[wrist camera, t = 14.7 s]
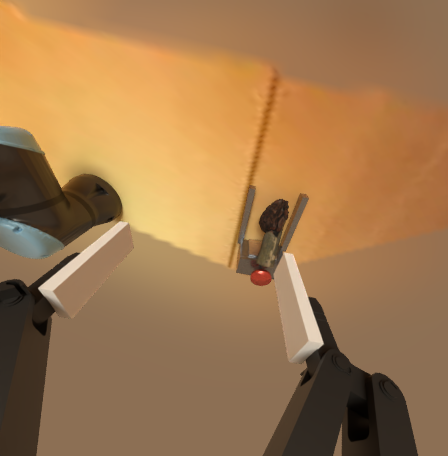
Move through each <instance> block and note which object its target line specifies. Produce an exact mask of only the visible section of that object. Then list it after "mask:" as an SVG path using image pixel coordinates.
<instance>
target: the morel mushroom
mask: <svg viewBox="0 0 448 456" xmlns="http://www.w3.org/2000/svg"><path fill="white" fill-rule="evenodd" d="M288 208H289V206H288V201H285V200H283V199H279V200H276V201H275V202H273V203H272V204H271V205H269V206H268V207H267V208H266V210H265V211H264V212H263V214H262V215H261V217H260V221H259V224H260V227H261V229H262V231H264V232H265V235H264V237H263V241H262V244H261V248H260V251H259V254H258V257H257V260H256V263H257V264H259V265H261V266H264V267H269V268H273V267H274V263H275V259H276V255H277V251H278V246H279V242H280V238H281V234H282V230H283V227H284V224H285V221H286V220H287V219H288V213H289V212H288Z"/></svg>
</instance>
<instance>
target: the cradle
mask: <svg viewBox="0 0 448 456" xmlns="http://www.w3.org/2000/svg"><path fill="white" fill-rule="evenodd" d="M254 194H255V186H252V185H249V190H248V195H247V199H246V204H245V208H244V213H243V218H242V222H241V227H240V232H239V236H238V243H239V244H240V246H239V250H238V257H237V270H236V272H237V273H241V274H247V275H251V281H252V282H253V283H254V284H255V285H259V286H263V285H267V284H269V283H270V282H271V279H274V275H273V274H274V272H275V270H276V268H277V266H278V264H279V262H280V260H281V258H282V256H283V252H282V251H286V249H287V247H288V244H289V242H290V240H291V238H292V235H293V233H294V231H295V229H296V226H297V224H298V222H299V220H300V217H301V215H302V213H303V210H304V208H305V206H306V204H307V201H308V199H309V198H308V196H307V195H306V194H301V193H300V196H299V198H298V201H297V203H296V206H295V208H294V210H293V213H292V215H291V218H290V220H289V223H288V225H287V228H286V230H285V233H284V235H283V238H282V240H281V243H280V245H279V246H278V251H277V255H276V259H275V263H274V267H273V268H269V267H264V266H261V265H259V264H257V263H256V260H257V257H258V254H259V251H260V248H261V244H262V242H261V241H256V240H250V239H249V240H244V235H245V231H246V227H247V223H248V218H249V214H250V210H251V206H252V202H253V198H254Z"/></svg>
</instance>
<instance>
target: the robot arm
mask: <svg viewBox="0 0 448 456" xmlns="http://www.w3.org/2000/svg"><path fill="white" fill-rule="evenodd" d="M120 213H121V201H120V198H119V196H118V195H117V193H116V191H115V190H114V189H113V188H112V187H111V186H110V185H109V184H108V183H107V182H105V181H104V180H102V179H101V178H99V177H97V176H94V175H89V174H83V175H79V176H77V177H74V178H72V179H71V180H70V181H69V182H68V183H67V184H66V185H64V186H63V187H62V188H61V187H60V185H59V183H58V181H57V179H56V177H55V175H54V173H53V171H52V169H51V167H50V165H49V163H48V161H47V159H46V157H45V153H44V152H43V151H42V150H41V148H40V147H39V145H38V143H37V141H36V140H35V138H34V136H33V135H32V134H31V133H30V132H28V131H27V130H25V129H22V128H18V127H9V126H0V246H1V247H2V248H4V249H6V250H8V251H10V252H12V253H15V254H17V255H20V256H23V257H27V258H32V259H42V258H47V257H49V256H51V255H53V254H54V253H56V252H57V251H59V250H62V249H63V248H64V247H65V246H66V245H68V244H69V243H71V242H72V241H74V240H75V239H76V238H78V237H79V236H80V235H82V234H83V233H85V232H86V231H88V230H89V229H90V228H92V227H93V226H96V225H100V224H104V223H107V222H110V221H112V220H114V219H115V218H116V217H118V216H119V214H120ZM133 248H134V247H133V241H132V236H131V231H130V226H129V223H127V222H122V221H119V222H118V223H117V224H116V225H115V226H113V227H112V228H111V229H110V230H109V231H107V232H106V233H105V234H104V235H102V236H101V237H100V238H99V239H97V240H96V241H95V242H94V243H93V244H92V245H90V246H89V247H88V248H86V249H85V250H84V251H83V252H82V253H74V254H72V255H70V256H68V257H66V258H65V259H64V260H63V261H61V262H60V263H59V264H57V265H56V266H55V267H54V268H53V269H51V270H50V271H48V272H47V273H46V274H44V275H43V276H42V277H41V278H39V279H38V280H37V281H36V282H34V283H33V284H32V285H30V286H29V287H27V286H26V285H25V284H24V282H23V281H21V280H17V279H13V280H7V281H4V282H1V283H0V456H36V453H37V445H38V436H39V427H40V418H41V410H42V401H43V392H44V384H45V375H46V367H47V358H48V349H49V340H50V332H51V323H52V318H51V315H52V314H53V313H54V312H56V313H57V314H58V316H59V317H64V318H68V319H72V318H73V317H74V316H75V315H76V314H77V313H78V311H79V310H80V309H81V308H82V307H83V306H84V305H85V303H86V302H87V301H88V300H89V299H90V297H91V296H92V295H93V294H94V293H95V292H96V291H97V290H98V288H99V287H100V286H101V285H102V284H103V283H104V281H105V280H106V279H107V278H108V277H109V276H110V274H111V273H112V272H113V271H114V270H115V269H116V268H117V266H118V265H119V264H120V263H121V262H122V261H123V259H124V258H125V257H126V256H127V255H128V253H129V252H130V251H131V250H132V249H133ZM273 275H274V281H275V286H276V292H277V298H278V304H279V309H280V315H281V321H282V327H283V332H284V338H285V344H286V350H287V355H288V361H289V362H293V363H299V364H302V363H303V362H304V361H305V360H306V363H307V368H306V369H305V370H304V371H303V372H302V373H301V376H302V378H301V380H300V382H299V384H298V386H297V388H296V390H295V392H294V394H293V396H292V398H291V400H290V402H289V404H288V406H287V408H286V410H285V412H284V414H283V416H282V418H281V420H280V422H279V424H278V426H277V428H276V430H275V432H274V434H273V436H272V438H271V440H270V442H269V444H268V446H267V448H266V450H265V453H264V454H263V456H333V454H334V450H335V446H336V443H337V439H338V435H339V431H340V428H341V424H342V456H418V454H417V449H416V444H415V440H414V435H413V431H412V427H411V422H410V418H409V413H408V409H407V405H406V401H405V398H404V396H403V394H402V392H401V391H400V389H399V387H398V386H397V385H396V384H395V383H394V382H393V381H392V380H391V379H389V378H388V377H387V376H386V375H383V374H381V373H375V374H372V375H370V374H368V373H366V372H364V371H363V370H361V369H359V368H357V367H355V366H354V365H352V364H351V363H350V361H349V359H348V358H347V357H346V356H345V355H344V354H342V353H341V352H340V351H339V349H338V347H337V344H336V342H335V339H334V337H333V334H332V332H331V329H330V327H329V324H328V322H327V319H326V317H325V315H324V312H323V309H322V307H321V305H320V304H319V302H318V301H317V300H316V298H312V297H308V296H307V294H306V290H305V288H304V285H303V282H302V279H301V276H300V273H299V270H298V267H297V264H296V261H295V259H294V256H293V254H289V253H283V256H282V258H281V260H280V262H279V264H278V266H277V268H276V270H275V272H274V274H273Z"/></svg>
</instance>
